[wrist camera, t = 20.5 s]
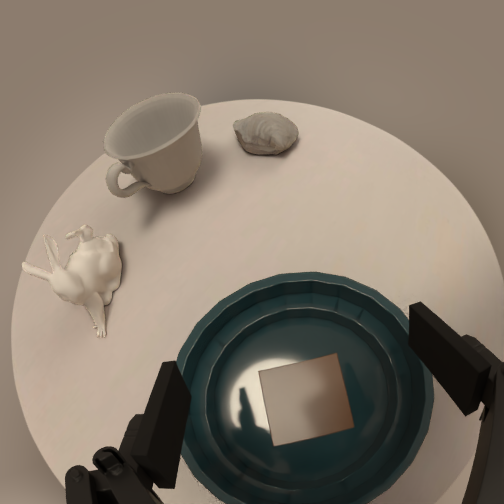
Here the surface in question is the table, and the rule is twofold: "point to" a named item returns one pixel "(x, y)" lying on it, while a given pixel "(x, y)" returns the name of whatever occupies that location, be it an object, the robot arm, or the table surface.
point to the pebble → (265, 133)
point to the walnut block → (305, 400)
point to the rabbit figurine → (84, 272)
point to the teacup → (155, 144)
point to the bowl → (293, 351)
